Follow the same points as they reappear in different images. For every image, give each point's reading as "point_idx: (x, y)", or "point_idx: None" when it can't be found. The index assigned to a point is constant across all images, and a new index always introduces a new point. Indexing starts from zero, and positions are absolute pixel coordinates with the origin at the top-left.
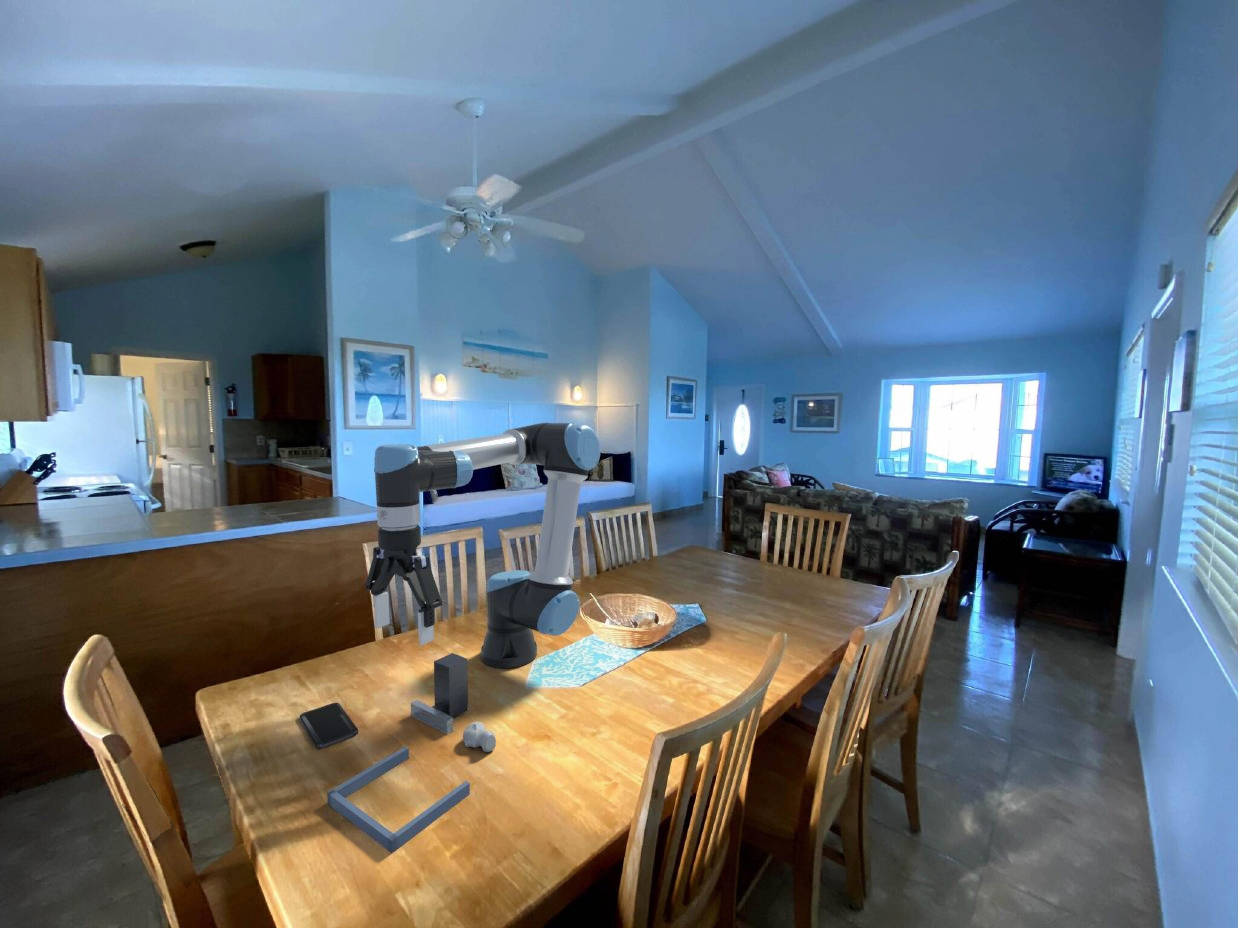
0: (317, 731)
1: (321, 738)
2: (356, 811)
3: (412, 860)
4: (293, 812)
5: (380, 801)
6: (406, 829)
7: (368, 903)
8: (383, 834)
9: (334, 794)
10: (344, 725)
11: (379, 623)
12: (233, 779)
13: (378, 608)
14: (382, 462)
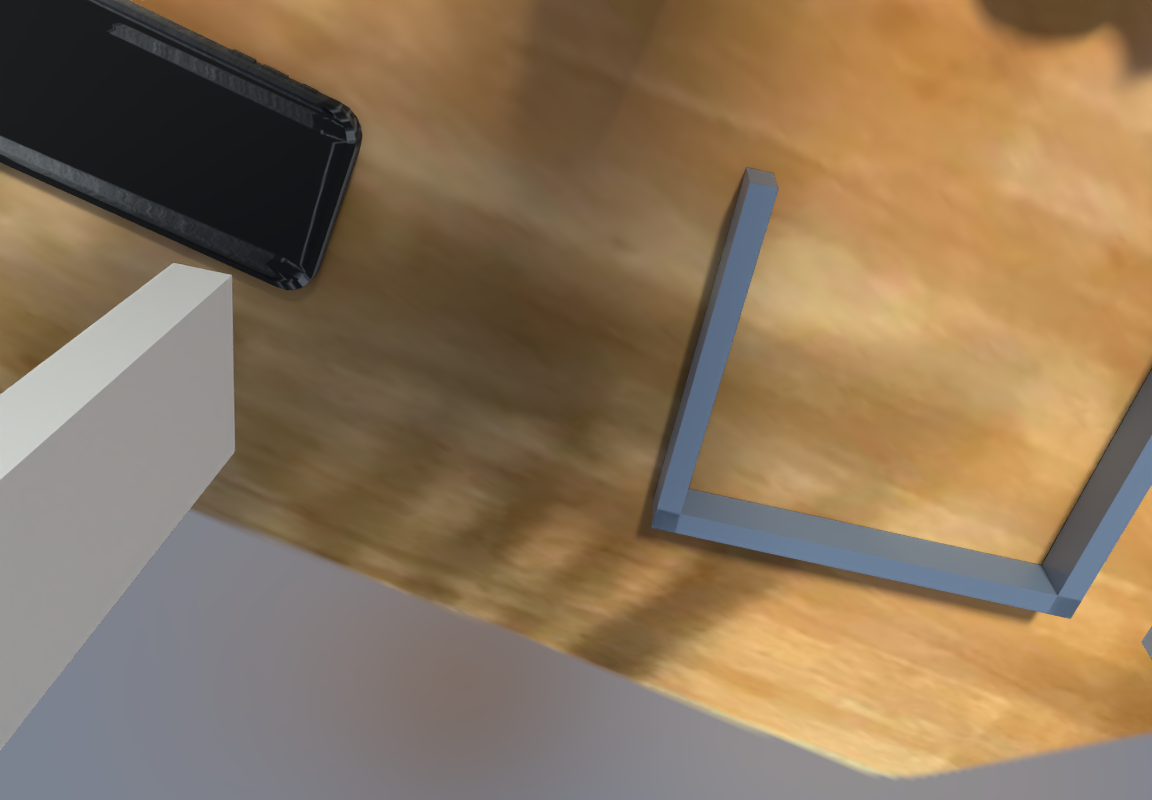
0: (175, 202)
1: (250, 236)
2: (843, 561)
3: (1145, 588)
4: (576, 559)
5: (845, 432)
6: (1096, 569)
7: (1089, 713)
8: (1022, 607)
9: (687, 525)
10: (239, 105)
11: (206, 453)
12: (216, 515)
13: (66, 628)
14: None
